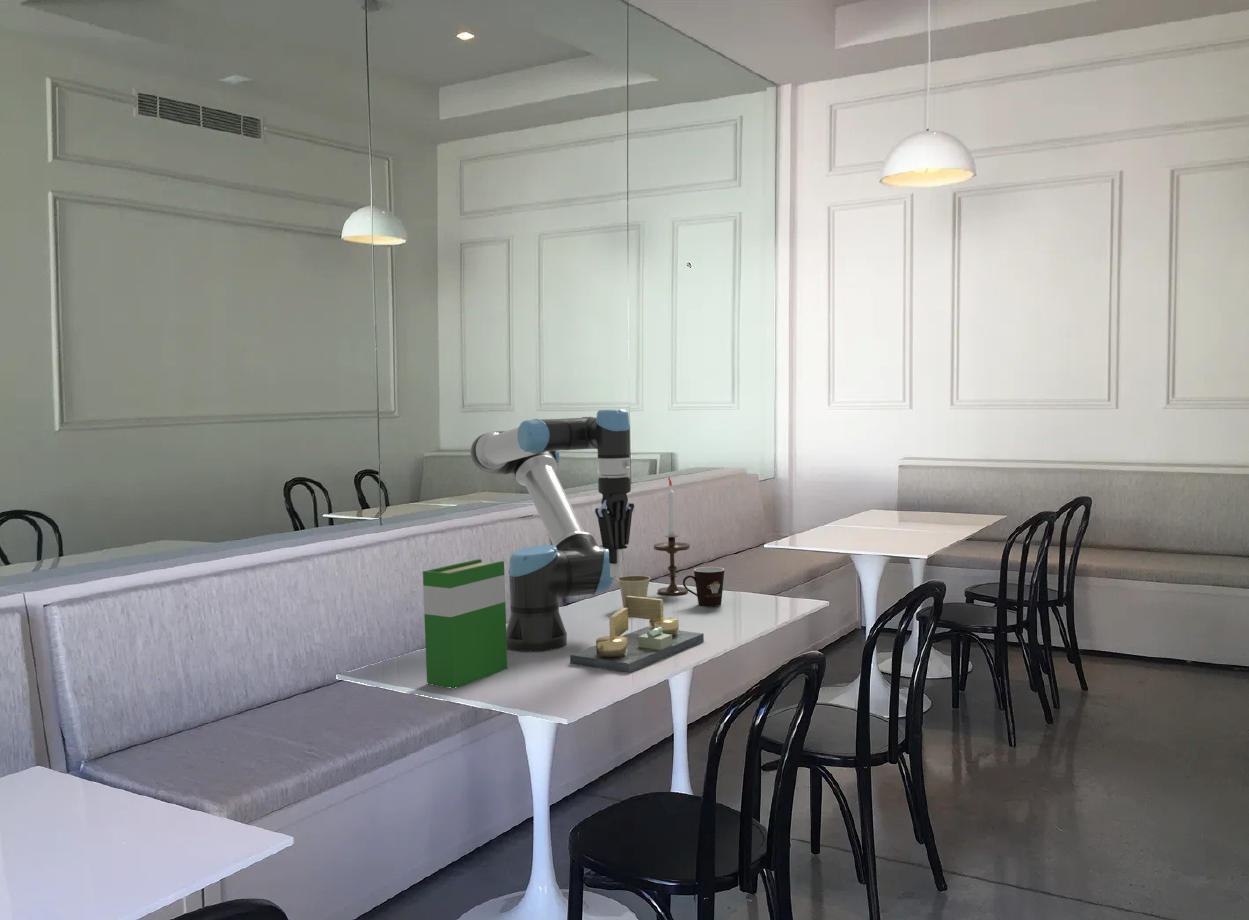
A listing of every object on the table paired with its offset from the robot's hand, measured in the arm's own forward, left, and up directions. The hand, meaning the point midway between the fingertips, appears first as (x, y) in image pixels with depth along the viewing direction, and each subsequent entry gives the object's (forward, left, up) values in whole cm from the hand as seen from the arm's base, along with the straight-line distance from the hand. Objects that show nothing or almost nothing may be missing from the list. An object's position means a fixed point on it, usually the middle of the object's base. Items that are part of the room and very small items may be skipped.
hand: (616, 576), depth 246 cm
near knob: (-2, -8, -15) cm, 17 cm away
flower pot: (+11, +46, -18) cm, 51 cm away
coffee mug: (+31, +46, -18) cm, 58 cm away
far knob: (+9, +7, -15) cm, 19 cm away
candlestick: (+26, +66, -18) cm, 73 cm away
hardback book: (-35, -14, -18) cm, 42 cm away
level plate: (+4, -3, -17) cm, 18 cm away
